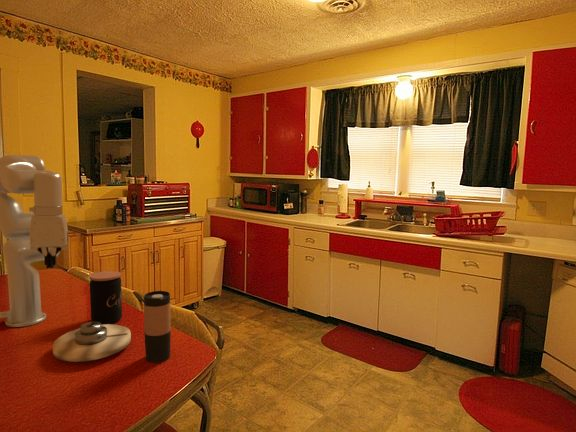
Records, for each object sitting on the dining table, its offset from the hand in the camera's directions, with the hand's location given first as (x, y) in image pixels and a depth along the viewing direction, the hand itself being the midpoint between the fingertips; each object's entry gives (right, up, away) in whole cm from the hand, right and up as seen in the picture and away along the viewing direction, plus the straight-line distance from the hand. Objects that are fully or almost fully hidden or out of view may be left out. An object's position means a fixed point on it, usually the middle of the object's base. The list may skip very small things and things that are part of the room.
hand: (50, 266), depth 122 cm
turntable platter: (+15, -24, -2) cm, 29 cm away
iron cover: (+15, -22, -3) cm, 27 cm away
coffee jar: (+8, -24, +21) cm, 32 cm away
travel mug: (+37, -27, -6) cm, 47 cm away
